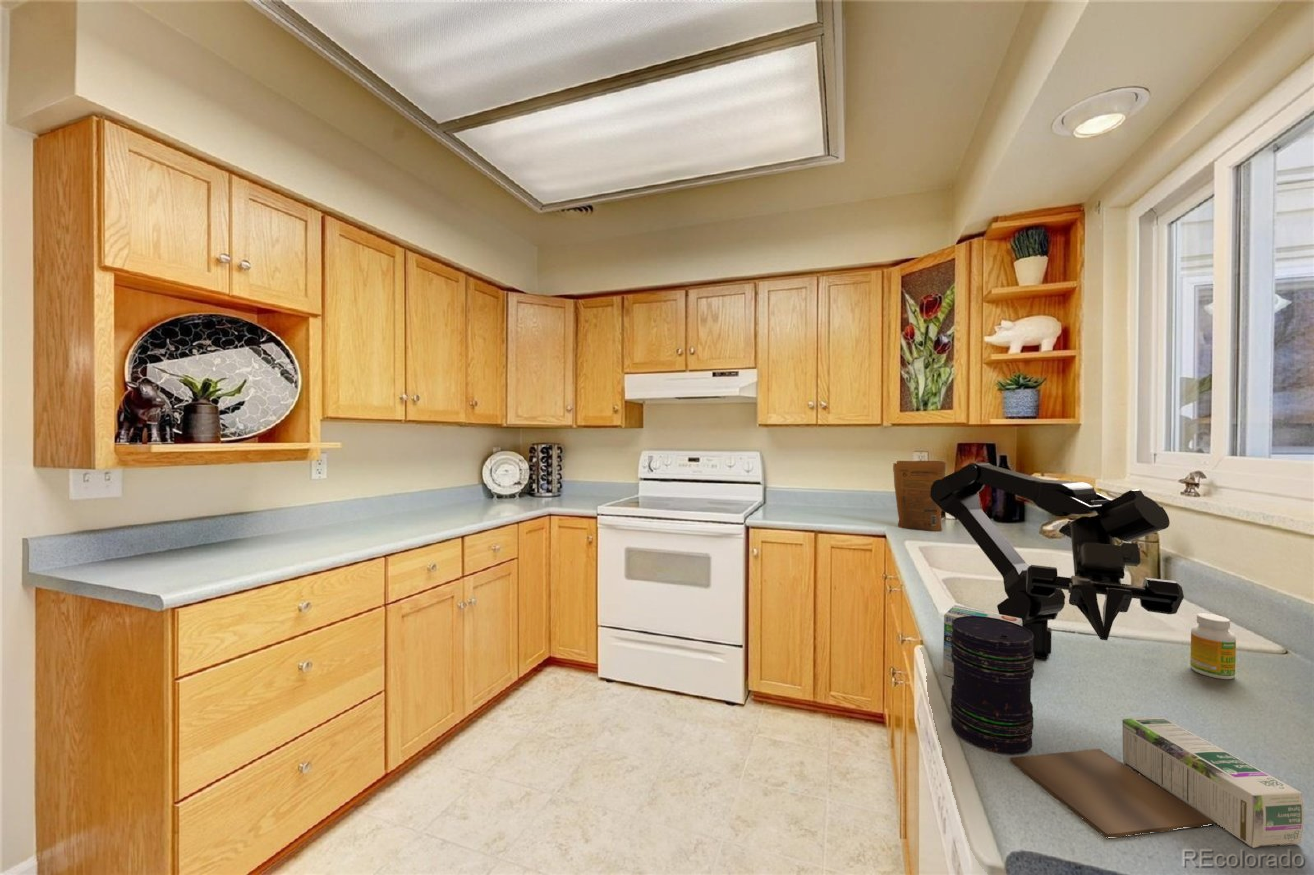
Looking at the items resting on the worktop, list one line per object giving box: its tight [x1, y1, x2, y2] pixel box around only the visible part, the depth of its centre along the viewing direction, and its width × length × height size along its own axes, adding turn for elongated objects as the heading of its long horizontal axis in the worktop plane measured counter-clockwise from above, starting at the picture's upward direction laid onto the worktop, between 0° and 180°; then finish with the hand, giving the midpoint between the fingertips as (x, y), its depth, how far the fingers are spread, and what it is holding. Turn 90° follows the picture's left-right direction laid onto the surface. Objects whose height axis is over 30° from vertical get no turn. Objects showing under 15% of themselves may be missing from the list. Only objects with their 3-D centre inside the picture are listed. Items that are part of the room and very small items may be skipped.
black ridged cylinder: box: [950, 616, 1035, 756], centre depth 75 cm, size 10×10×15 cm
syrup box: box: [1122, 716, 1305, 849], centre depth 62 cm, size 6×6×14 cm
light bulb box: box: [942, 604, 1022, 678], centre depth 91 cm, size 11×7×11 cm, turn 47°
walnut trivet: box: [1009, 748, 1215, 839], centre depth 63 cm, size 13×13×1 cm
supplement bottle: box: [1189, 612, 1237, 680], centre depth 93 cm, size 5×5×10 cm
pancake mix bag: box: [892, 460, 947, 532], centre depth 216 cm, size 7×19×28 cm, turn 55°
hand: (1104, 639), depth 80 cm, fingers closed
